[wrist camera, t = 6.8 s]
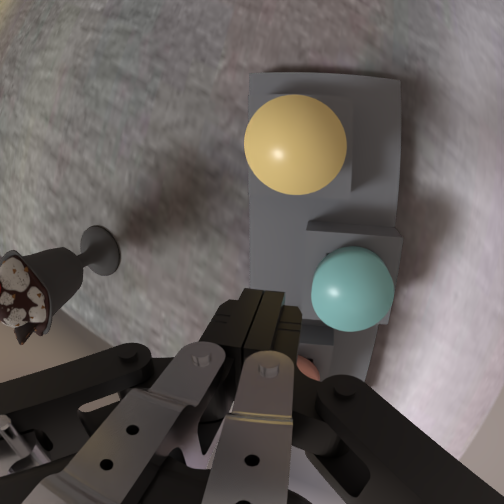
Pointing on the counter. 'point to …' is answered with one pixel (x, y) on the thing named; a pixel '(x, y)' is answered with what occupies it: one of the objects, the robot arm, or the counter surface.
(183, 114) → the counter surface
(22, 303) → the sundae
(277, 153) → the button ochre
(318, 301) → the button teal
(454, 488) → the robot arm
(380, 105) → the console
